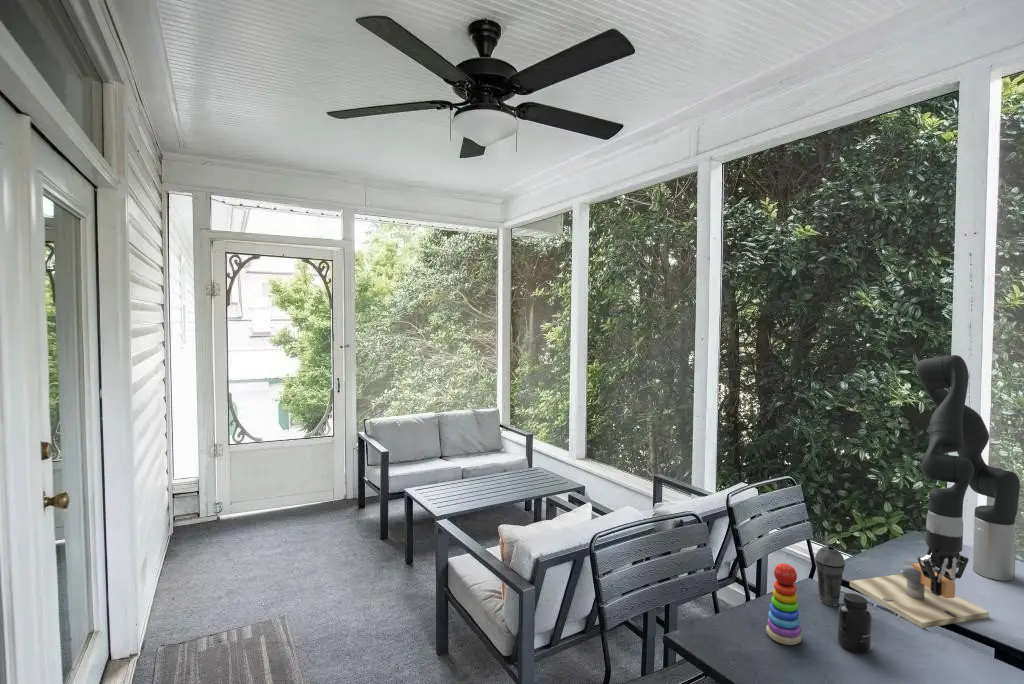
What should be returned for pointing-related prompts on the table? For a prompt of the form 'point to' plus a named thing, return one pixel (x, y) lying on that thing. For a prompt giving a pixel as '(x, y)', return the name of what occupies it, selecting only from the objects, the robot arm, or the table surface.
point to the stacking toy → (784, 607)
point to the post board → (917, 601)
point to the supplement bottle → (854, 624)
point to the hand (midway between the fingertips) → (941, 593)
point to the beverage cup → (829, 573)
